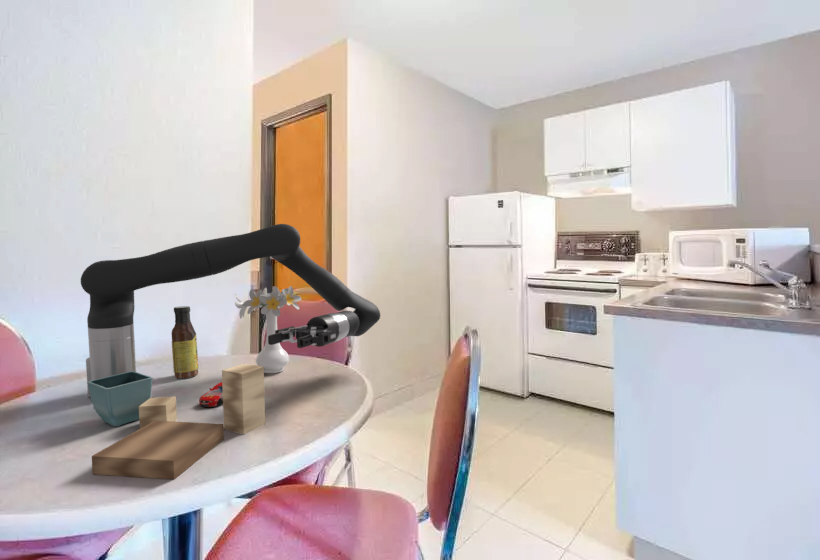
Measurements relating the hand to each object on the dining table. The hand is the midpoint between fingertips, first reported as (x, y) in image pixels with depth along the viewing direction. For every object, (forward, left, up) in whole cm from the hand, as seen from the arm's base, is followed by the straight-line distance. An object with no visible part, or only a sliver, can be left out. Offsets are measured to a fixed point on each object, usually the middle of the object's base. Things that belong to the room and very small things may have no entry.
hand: (283, 341), depth 94 cm
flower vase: (-16, +27, -15) cm, 35 cm away
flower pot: (-31, -11, -15) cm, 36 cm away
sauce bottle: (-38, +20, -15) cm, 46 cm away
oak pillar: (-4, -11, -15) cm, 19 cm away
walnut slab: (-12, -24, -15) cm, 30 cm away
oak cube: (-22, -12, -15) cm, 29 cm away
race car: (-17, +4, -16) cm, 24 cm away
